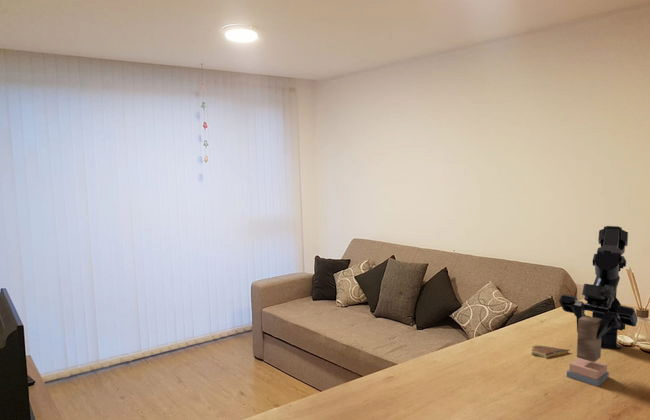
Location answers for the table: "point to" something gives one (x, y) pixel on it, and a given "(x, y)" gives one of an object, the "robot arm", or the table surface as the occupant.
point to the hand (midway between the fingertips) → (587, 335)
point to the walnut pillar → (588, 338)
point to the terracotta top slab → (588, 368)
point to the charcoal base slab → (588, 380)
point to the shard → (547, 351)
